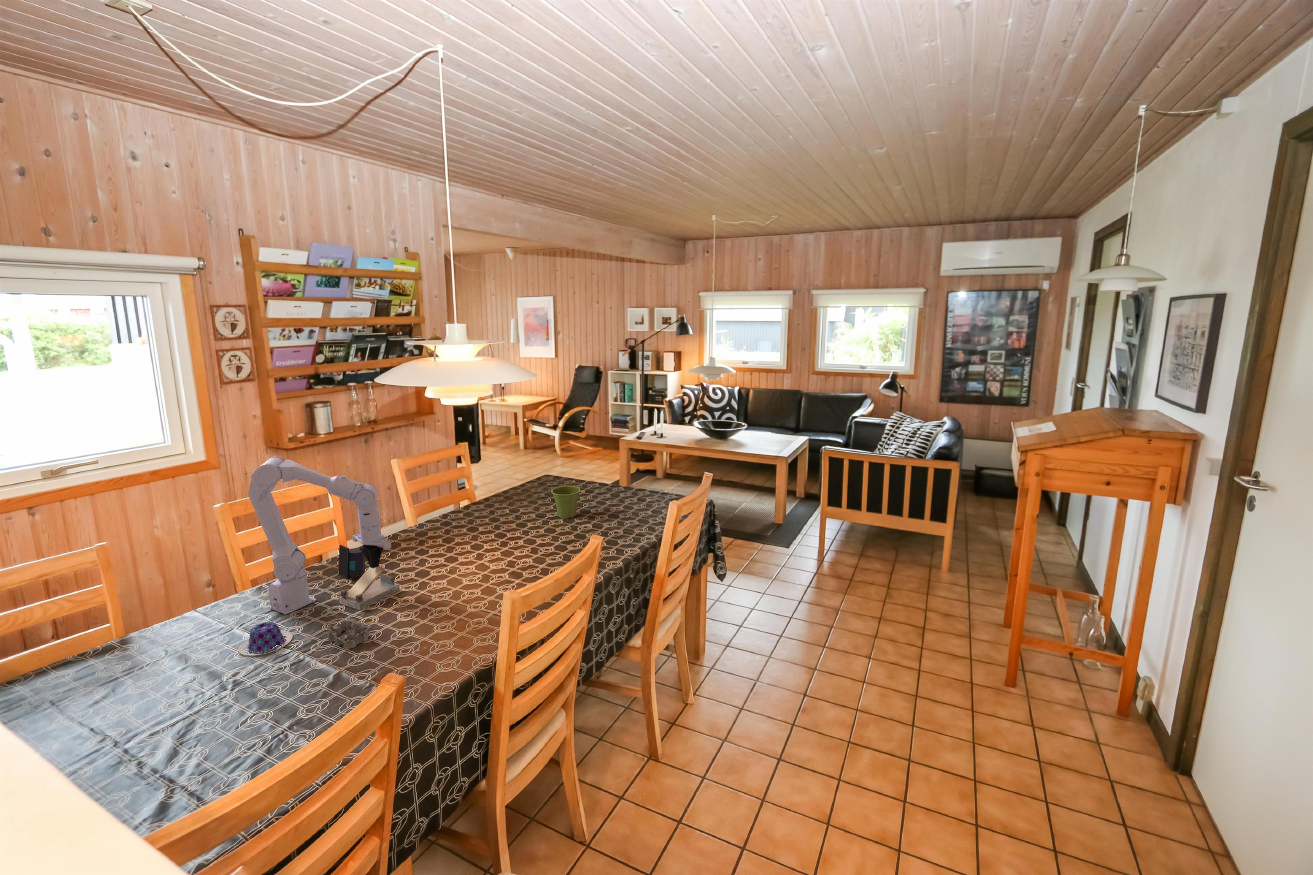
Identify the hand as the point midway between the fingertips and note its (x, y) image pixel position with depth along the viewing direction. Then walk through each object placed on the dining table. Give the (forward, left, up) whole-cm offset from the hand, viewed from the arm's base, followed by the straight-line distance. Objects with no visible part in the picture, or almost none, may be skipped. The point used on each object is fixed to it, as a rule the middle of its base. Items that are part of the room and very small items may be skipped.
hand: (374, 566), depth 184 cm
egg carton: (-21, -15, -9) cm, 27 cm away
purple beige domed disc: (-33, +2, -9) cm, 34 cm away
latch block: (-3, 0, -9) cm, 9 cm away
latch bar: (-4, 0, -4) cm, 5 cm away
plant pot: (+82, -12, -9) cm, 84 cm away
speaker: (+5, +18, -9) cm, 21 cm away
